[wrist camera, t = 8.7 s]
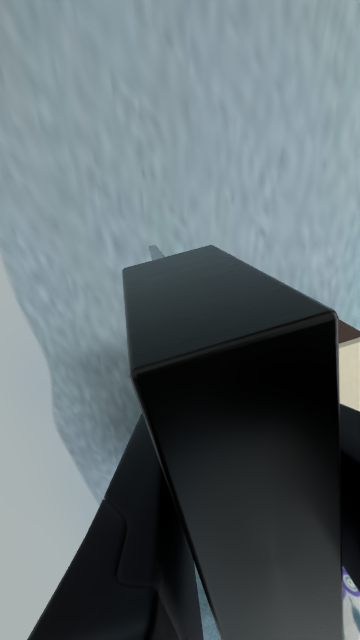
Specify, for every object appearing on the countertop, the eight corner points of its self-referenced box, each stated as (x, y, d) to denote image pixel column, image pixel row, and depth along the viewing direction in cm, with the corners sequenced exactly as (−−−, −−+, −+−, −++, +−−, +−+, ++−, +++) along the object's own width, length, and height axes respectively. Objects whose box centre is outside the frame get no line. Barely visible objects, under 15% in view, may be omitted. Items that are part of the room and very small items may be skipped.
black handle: (177, 225, 13) (342, 310, 3) (213, 386, 16) (345, 650, 7) (119, 240, 12) (128, 373, 3) (167, 400, 16) (239, 693, 6)
